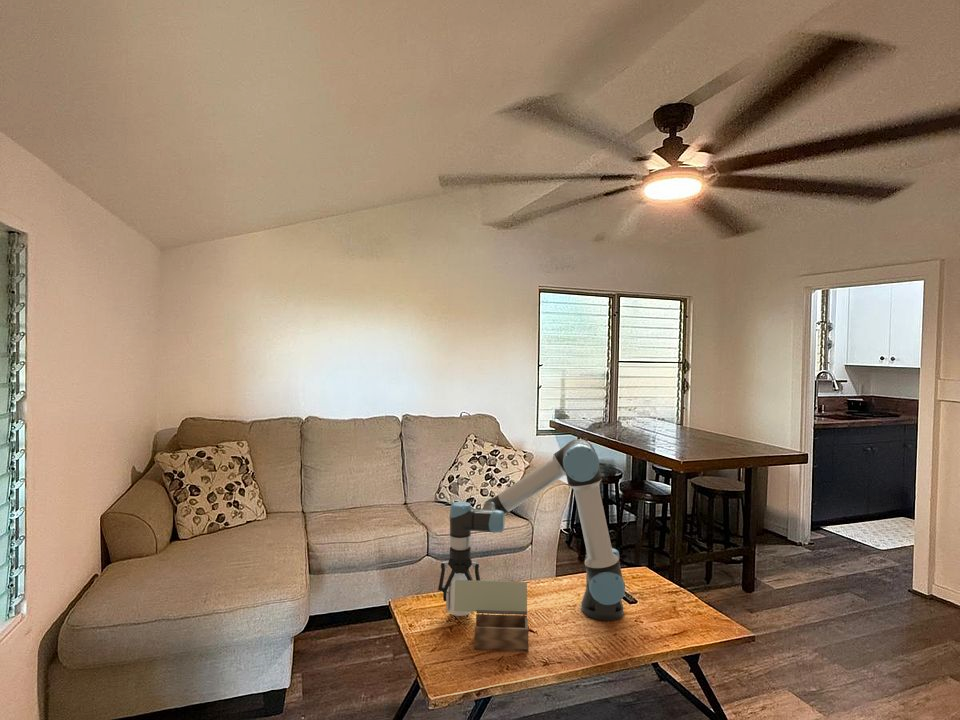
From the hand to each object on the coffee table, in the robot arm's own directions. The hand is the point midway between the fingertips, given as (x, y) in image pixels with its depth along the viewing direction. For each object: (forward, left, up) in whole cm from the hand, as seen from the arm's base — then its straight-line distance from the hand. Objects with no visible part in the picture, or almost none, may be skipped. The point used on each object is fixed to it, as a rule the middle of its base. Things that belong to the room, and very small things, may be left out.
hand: (459, 610), depth 189 cm
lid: (-11, +10, +9) cm, 17 cm away
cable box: (-15, +16, -3) cm, 22 cm away
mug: (0, 0, -1) cm, 1 cm away
